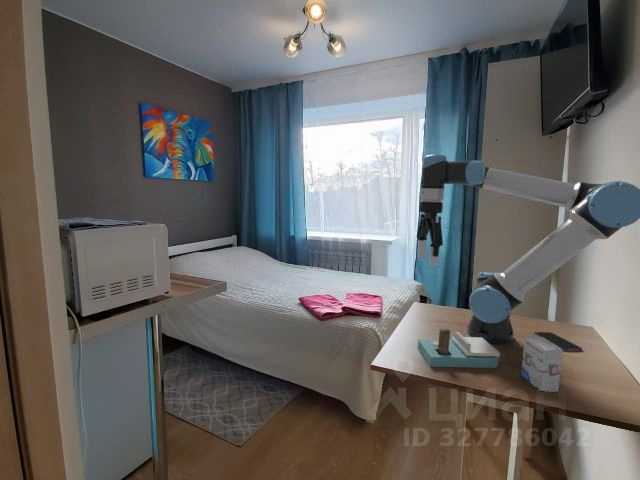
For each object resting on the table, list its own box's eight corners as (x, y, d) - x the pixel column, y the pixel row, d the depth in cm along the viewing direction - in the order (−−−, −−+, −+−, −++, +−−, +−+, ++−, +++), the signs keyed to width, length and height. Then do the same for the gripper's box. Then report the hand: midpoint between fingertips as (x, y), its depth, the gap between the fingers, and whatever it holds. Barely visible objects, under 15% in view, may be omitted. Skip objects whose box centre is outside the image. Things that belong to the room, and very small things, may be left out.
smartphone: (550, 332, 128) (584, 349, 113) (550, 334, 128) (583, 352, 113) (532, 332, 128) (563, 349, 113) (532, 334, 128) (563, 352, 113)
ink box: (519, 375, 97) (524, 335, 95) (535, 374, 98) (540, 335, 96) (541, 392, 89) (546, 349, 87) (559, 392, 89) (565, 349, 87)
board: (477, 349, 113) (478, 340, 112) (497, 368, 101) (498, 358, 100) (417, 348, 112) (418, 339, 112) (429, 366, 100) (430, 356, 100)
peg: (435, 358, 105) (438, 327, 104) (444, 358, 105) (447, 328, 104) (439, 363, 102) (442, 331, 101) (449, 363, 102) (452, 332, 101)
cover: (481, 340, 112) (482, 331, 111) (499, 356, 101) (500, 346, 100) (451, 339, 111) (452, 330, 111) (466, 355, 100) (467, 345, 100)
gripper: (410, 200, 130) (407, 254, 133) (433, 202, 105) (428, 269, 108) (430, 200, 130) (426, 255, 133) (457, 202, 105) (451, 269, 108)
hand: (427, 261), depth 120 cm, fingers open, 13 cm apart
